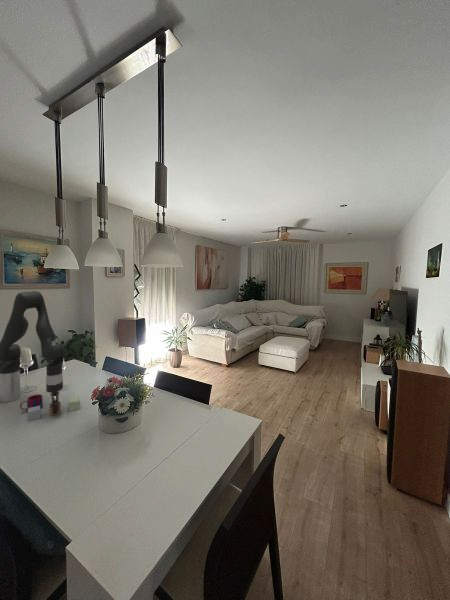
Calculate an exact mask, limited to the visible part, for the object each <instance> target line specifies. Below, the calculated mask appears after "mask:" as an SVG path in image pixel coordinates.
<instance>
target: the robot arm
mask: <svg viewBox="0 0 450 600" xmlns="http://www.w3.org/2000/svg"><path fill="white" fill-rule="evenodd" d="M29 309H36V311H37V320H36V324H35V331H36V332H35V333H36V334H37V338H38V339H39V341H40V349H41V356H42V357H43V358H44V360H46V361H50V362H49V363H48V364H47V365H46V378H45V386H46V388H45V390H46V392H47V393H50V403H52V408H53V414H57V413H58V402H59V401H60V391H61V390H63V389H64V376H63V375H64V374H63V364H64V361H65V356H66V348H65V346H64V345H62V344H55V345H54V344H52V343H53V342H54V341H55V340H56V339H57V337H56V334H55V332H54V329H53V327H52V324H51V322H50V318H49V314H48V310H47V306H46V303H45V299H44V296H43V294H42V293H41V292H40V291H37V290H36V291H35V290H32V291H31V290H30V291H22V292H18V293H17V294H16V295H15V297H14V301H13V307H12V311H11V314H10V317H9V320H8V322H7V323H6V327H5V330H4V333H3V335H2V338H1V340H0V363H5V362H7V363H6V364H4V365H2V366H0V402H1V403H10V402H13V401H17V400H18V399H20V398H21V370H20V368H21V355H22V354H21V353H22V351H21V347H20V345H19V344H17V342H18V341H20V340H21V339H22V338H23V337H24V336H25V334H27V331H28V329H29V321H28V319H27V318H26V317H25V312H26V310H29ZM54 403H57V405H53V404H54ZM57 415H58V414H57Z"/></svg>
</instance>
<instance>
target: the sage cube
mask: <svg viewBox="0 0 450 600" xmlns="http://www.w3.org/2000/svg"><path fill="white" fill-rule="evenodd" d="M80 399H81V398H80V397H79V396H78V397H74V398H70V399H68V410H69V412H72V411H78V410H80V409H81V400H80Z"/></svg>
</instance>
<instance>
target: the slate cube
mask: <svg viewBox="0 0 450 600" xmlns="http://www.w3.org/2000/svg"><path fill="white" fill-rule="evenodd" d="M40 419H41V409H40V406H36V407H32V408H28V410H27V422H32V421H36V420H40Z"/></svg>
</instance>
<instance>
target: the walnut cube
mask: <svg viewBox="0 0 450 600" xmlns="http://www.w3.org/2000/svg"><path fill="white" fill-rule="evenodd" d="M48 405H49V407H48V408H49V417H53V416H56V415H57V416H58V415H61V413H62V406H61V405H62V403H61V401H60V400H59V402H58V413H57V414H53V408H52V403H51V402H50V403H49V404H48ZM53 405H57V403H54V404H53Z"/></svg>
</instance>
